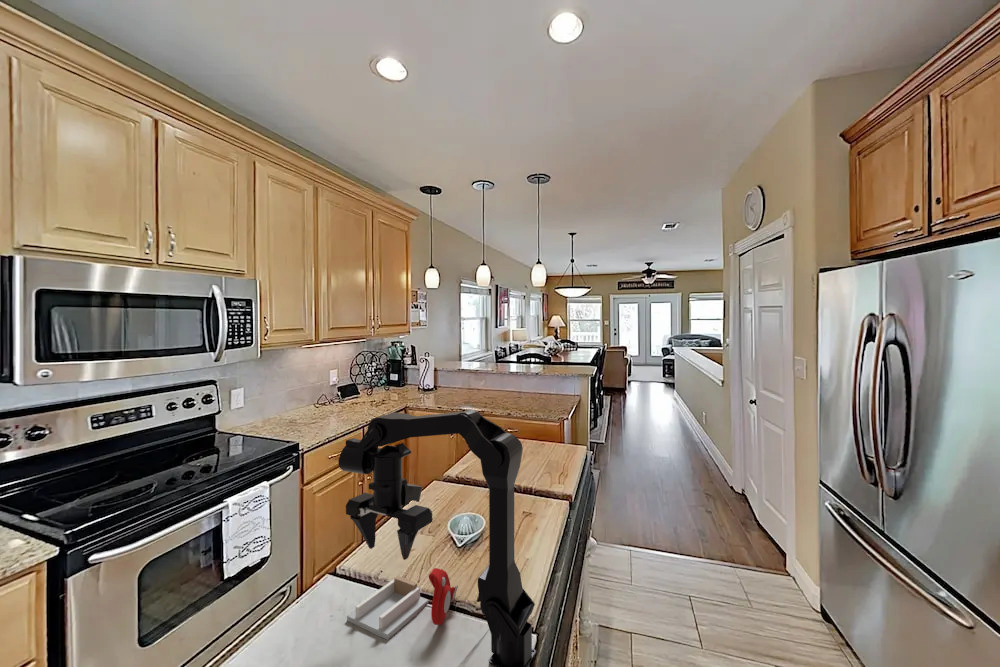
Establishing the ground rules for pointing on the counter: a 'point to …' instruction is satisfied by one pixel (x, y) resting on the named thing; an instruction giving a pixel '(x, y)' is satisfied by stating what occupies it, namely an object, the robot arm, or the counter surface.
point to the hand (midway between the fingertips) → (388, 553)
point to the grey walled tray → (389, 608)
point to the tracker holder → (441, 595)
